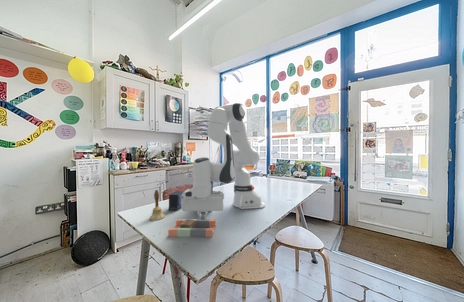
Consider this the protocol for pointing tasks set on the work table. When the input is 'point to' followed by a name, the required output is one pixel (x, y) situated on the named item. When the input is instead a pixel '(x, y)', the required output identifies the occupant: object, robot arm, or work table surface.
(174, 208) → the small box
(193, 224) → the walnut block
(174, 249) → the work table surface
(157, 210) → the hand bell
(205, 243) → the work table surface
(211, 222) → the multicolored rectangular frame
